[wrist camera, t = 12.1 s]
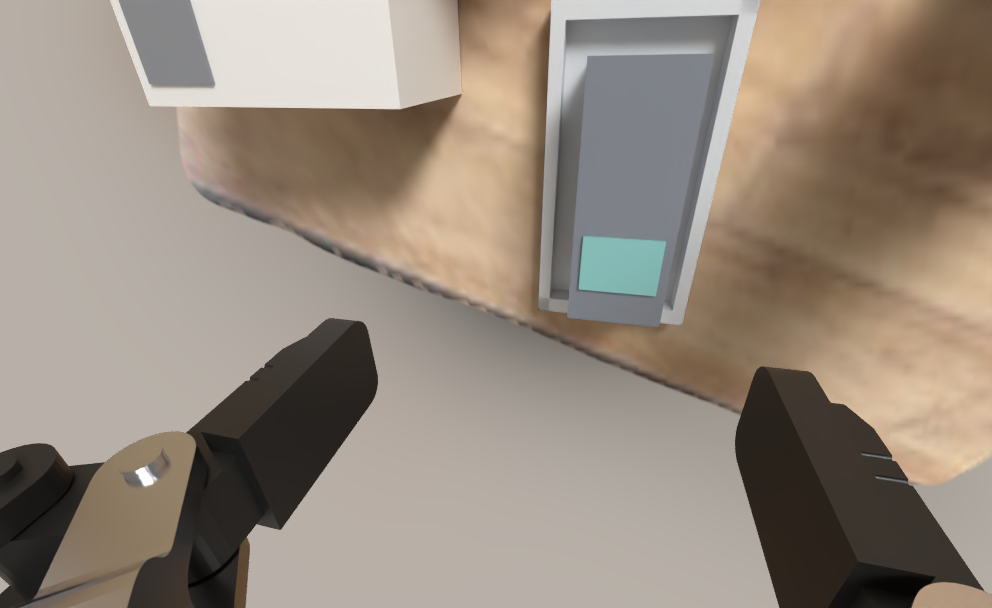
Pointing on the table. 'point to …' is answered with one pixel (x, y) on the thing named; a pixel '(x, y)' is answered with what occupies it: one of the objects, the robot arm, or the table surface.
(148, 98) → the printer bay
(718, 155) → the tray
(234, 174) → the table surface
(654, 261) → the slab with teal patch
